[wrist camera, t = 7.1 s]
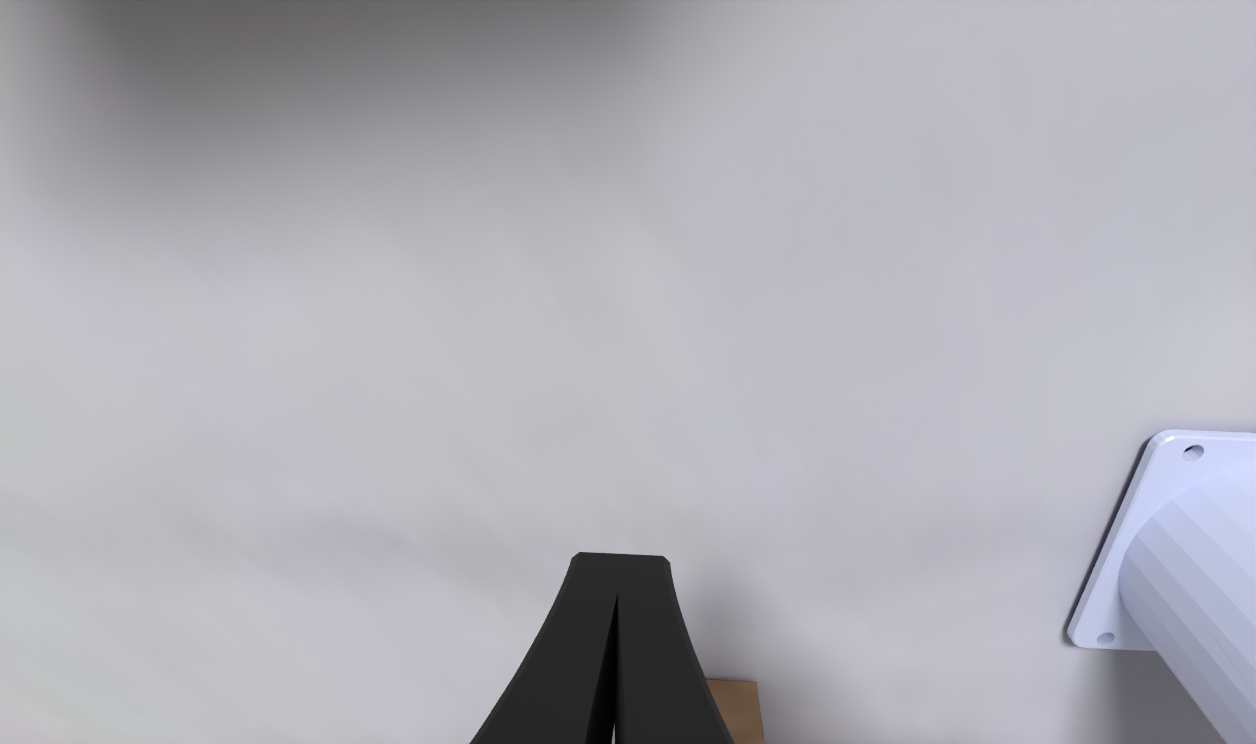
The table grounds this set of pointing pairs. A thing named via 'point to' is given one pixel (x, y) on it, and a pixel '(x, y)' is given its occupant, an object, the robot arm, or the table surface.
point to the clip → (739, 709)
